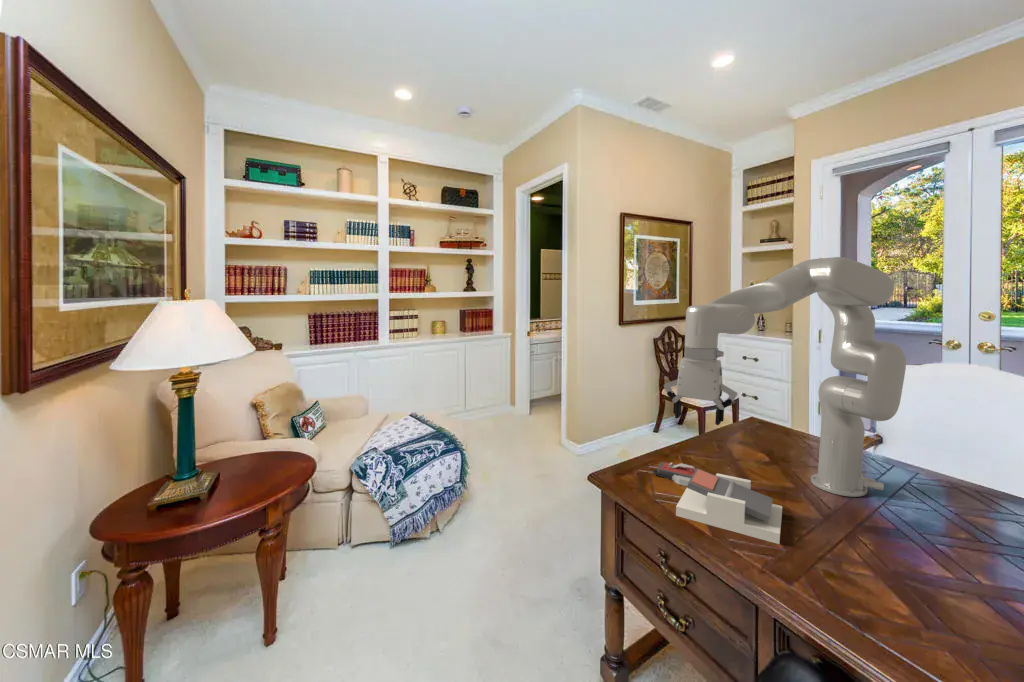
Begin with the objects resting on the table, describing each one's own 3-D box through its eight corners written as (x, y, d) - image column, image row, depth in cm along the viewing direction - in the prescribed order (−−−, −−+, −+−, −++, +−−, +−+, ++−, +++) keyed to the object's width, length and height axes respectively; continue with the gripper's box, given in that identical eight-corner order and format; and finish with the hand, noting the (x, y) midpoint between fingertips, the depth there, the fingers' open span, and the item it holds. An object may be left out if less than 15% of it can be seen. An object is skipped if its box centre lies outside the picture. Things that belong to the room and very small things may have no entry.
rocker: (770, 504, 102) (773, 497, 102) (767, 523, 94) (770, 515, 94) (695, 473, 112) (697, 467, 111) (686, 488, 104) (688, 481, 103)
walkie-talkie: (650, 479, 125) (723, 497, 113) (650, 465, 125) (723, 481, 113) (659, 468, 132) (728, 484, 120) (659, 455, 132) (729, 470, 120)
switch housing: (781, 515, 103) (783, 487, 102) (779, 544, 91) (781, 512, 90) (688, 492, 115) (689, 467, 114) (675, 515, 104) (676, 487, 103)
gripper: (741, 355, 101) (738, 422, 103) (669, 350, 111) (667, 411, 113) (736, 359, 95) (732, 430, 97) (660, 353, 106) (658, 417, 108)
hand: (697, 420), depth 105 cm, fingers open, 9 cm apart
